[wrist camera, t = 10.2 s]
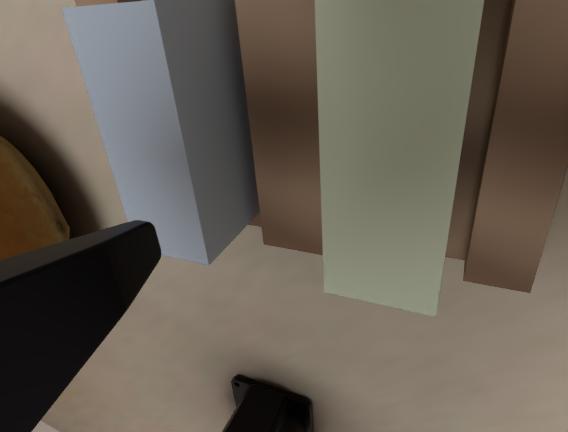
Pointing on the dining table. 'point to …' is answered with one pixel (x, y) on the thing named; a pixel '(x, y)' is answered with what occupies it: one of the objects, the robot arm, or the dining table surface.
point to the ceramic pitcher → (26, 207)
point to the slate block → (172, 116)
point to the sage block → (391, 142)
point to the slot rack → (475, 147)
